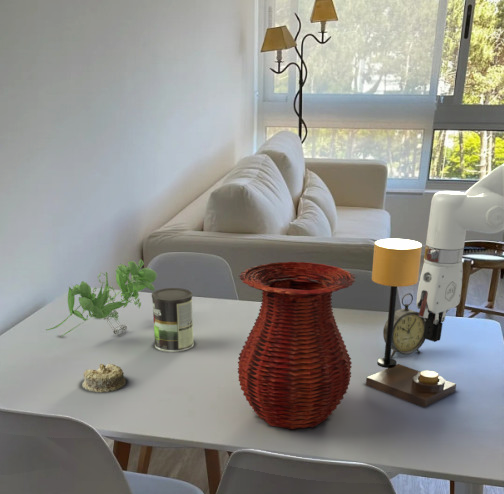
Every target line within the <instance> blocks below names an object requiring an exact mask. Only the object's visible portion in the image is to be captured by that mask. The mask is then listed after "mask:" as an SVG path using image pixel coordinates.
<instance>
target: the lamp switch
mask: <svg viewBox="0 0 504 494" xmlns="http://www.w3.org/2000/svg"><path fill="white" fill-rule="evenodd" d="M438 376H440V374H439V373H438V372H436V371H434V370H422V371H420V378H419V381H421V382H424V383H429V384H433V383H437V382H438Z"/></svg>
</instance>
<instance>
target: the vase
mask: <svg viewBox="0 0 504 494" xmlns="http://www.w3.org/2000/svg"><path fill="white" fill-rule="evenodd" d="M238 277H239V280H241V281H242V283H243V284H245V285H247V286H248V287H250V288H253V289H256V290H259V291H261V294H262V296H261V298H262V299H261V303H260V308H259V309H258V311H259V312H258V315H257V317H256V318H255V322H254V325H253V326H252V329H250V332H249V333H248V336H247V337H246V339H247V340H245V341H244V345H243V346H242V349H241V350H240V353H238V355H239V357H238V359H237V360H238V361H237V364H238V368H237V374H238V376H237V377H238V380H237V381H238V382H239V386H240V390H241V391H243V393H242V395H243V396H244V397H245V399H246V400H245V401H247V402H248V404H249V406H250V407H251V408H252V410H253V412H254V413H256V415H257V416H258V418H260V419H261V420H262V421H264V422H265V423H267V424H268V425H270V426H271V427H272V426H273V427H277V428H283V429H288V430H299V429H307V428H315V427H316V426H318V425H319V424H321V423H324V422H325V421H326V420H327V419H328V417H330V416H331V415H332V414H333V412H334V411H335V410H336V409H337V408H338V406H339V405H340V404H341V401H342V400H344V399H345V398H344V396H345V395H346V394H347V390H349V386H350V384H351V383H350V382H351V377H352V372H351V369H352V363H353V362H352V361H351V360H352V358H351V357H350V354H349V353H348V352H349V350H348V349H347V345H346V344H345V340H343V336H342V333H341V332H340V329H339V326H338V324H337V322H336V319H335V316H334V312H333V311H334V308H332V307H333V305H332V304H333V302H332V300H333V298H332V297H333V295H332V294H333V293H334V292H338V291H340V290H343V289H347V288H349V287H350V286H353V285H354V284H353V283H355V282H356V276H355V274H354V273H352V272H350V271H349V270H345V269H343V268H342V267H339V266H336V265H335V266H334V265H328V264H325V263H316V262H305V261H285V262H279V261H277V262H270V263H265V264H264V263H263V264H258V265H256V266H250V268H246V269H245V270H244V271H242V272H240V275H238Z"/></svg>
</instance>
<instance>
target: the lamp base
mask: <svg viewBox="0 0 504 494" xmlns="http://www.w3.org/2000/svg"><path fill="white" fill-rule="evenodd" d="M420 372H421V371H420V370H417V369H414V368H411V367H408V366H406V365H404V364H403V365H402V364H400V363H397V364H396V366H395V367H393V368H384V369H383V370H380V371H377V372H376V373H373V374H371V375H369V376H366V379H365V385H366V386H367V387H370V388H372V389H375V390H378V391H381V392H383V393H386V394H388V395H391V396H393V397H396V398H398V399H401V400H404V401H406V402H409V403H411V404H413V405H417V406H419V407H422V408H425V409H426V408H427V407H429V406H430V405H432V404H435V403H436V402H438V401H441V400H442V399H445V398H446V397H448V396H450V395H453V394H454V393H456V389H457V383H454V382H452V381H448V380H447V379H445V378H444V377H443V376H441V375H439V376H438V382H437V383H433V384H429V383H424V382H421V381H419V378H420Z"/></svg>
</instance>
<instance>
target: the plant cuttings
mask: <svg viewBox="0 0 504 494" xmlns="http://www.w3.org/2000/svg"><path fill="white" fill-rule="evenodd" d="M127 264H128V266H127V265H125V264H123V263H120V265H117V267H116V269H115V280H116V284H117V286H118V287H119V289H120V290H119V291H118V292H117V293H116V291H115V288H113V286H112V285H109V279H108V277H109V275H108V272H107V271H105V273H104V272H99V274H98V275H97V279H98V282H99V283H101V285H100V289H99V291H98V294H96V291H97V286H96V287H93V289H92V288H91V286H90V285H89V284H88V283H87V282H85V281H81V282H80V284H75V285H73V284H71V286H72V288H71V287H70V286H68V292H67V307H68V312H69V315H68V316H67V317H66V318H65V319H64V320H63V321H61V322H60V323H59V324H57V325H55V326H53V327H51V328H47V329H45V331H50V330H55V329H57V328H58V327H60V326H61V325H63V324H64V323H66V321H67V320H68V319H69V318H70V317H71V316H73V315H74V316H76V317H77V318H79V319H81V320H83V322H86V321H88V320H89V319H90V318H95V319H99V320H100V319H103V320H106V322H107V324H108V325H109V327H110V328H111V329H112V333H113V335H116V336H118V337H120V336H123V335H124V334H125V332H126V331H127V329H128V325H126V324H125V323H121V322H120V321H119V312H118V311H117V310H118V309H120V308H127V306H128V304H129V303H131V304H132V301H133V305H135V306H137V308H138V309H140V308H141V306H142V302H140V300H141V299H140V298H139V296H140V294H139V292H141V291H142V290H144V289H146V288H147V289H148V290H149V291H153V292H155V291H156V289H155V286H154V285H153V283H154V282H155V281H156V279H157V277H158V274H157V272H156V271H155V270H153V269H151V268H149V267H143V266H144V265H145V263H144V261H143V259H139V260H138V264H137V263H136V262H135V261H134V260H129V261H128V262H127ZM142 267H143V268H142ZM101 275H103V276H105V281H101V279H100V278H99V277H101ZM130 275H131V277H130ZM104 284H105V286H104V289H103V285H104ZM111 290H112V291H113V292H114V296H112V295H111V294H110V291H111ZM119 294H120V300H119V301H116V297H117V295H119ZM76 295H79V297H78V302H79V306H77V308H75V309H74V307H75V300H76V299H75V296H76ZM80 307H81V308H82V312H81V311H80V310H78V309H79V308H80ZM86 311H88V314H87V315H86V317H84V315H83V314H84V312H86ZM111 319H114V321H115V322H116V323H117V325H118V326H116V327H114V326H113V325H112V322H110V320H111ZM83 322H81V323H80V324H78V325H76V326H74V327H72V328H71V329H69V330H68V331H66V332H65V333H63V334H62V335H61V337H63V336H65V335H67V334H68V333H70V332H71V331H73V330H74V329H76V328H77V327H79V326H80V325H82V324H83ZM118 327H119V328H118ZM120 331H122V332H123V333H122V334H120Z"/></svg>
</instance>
